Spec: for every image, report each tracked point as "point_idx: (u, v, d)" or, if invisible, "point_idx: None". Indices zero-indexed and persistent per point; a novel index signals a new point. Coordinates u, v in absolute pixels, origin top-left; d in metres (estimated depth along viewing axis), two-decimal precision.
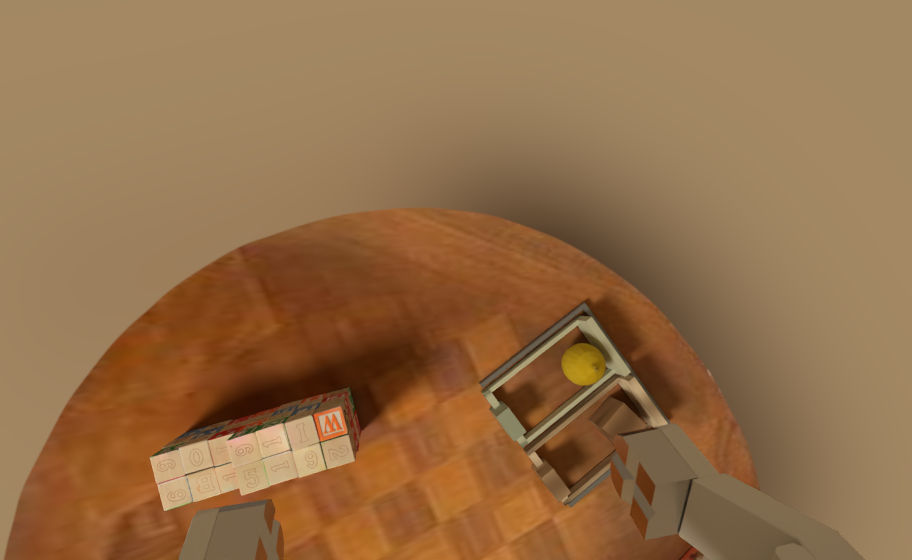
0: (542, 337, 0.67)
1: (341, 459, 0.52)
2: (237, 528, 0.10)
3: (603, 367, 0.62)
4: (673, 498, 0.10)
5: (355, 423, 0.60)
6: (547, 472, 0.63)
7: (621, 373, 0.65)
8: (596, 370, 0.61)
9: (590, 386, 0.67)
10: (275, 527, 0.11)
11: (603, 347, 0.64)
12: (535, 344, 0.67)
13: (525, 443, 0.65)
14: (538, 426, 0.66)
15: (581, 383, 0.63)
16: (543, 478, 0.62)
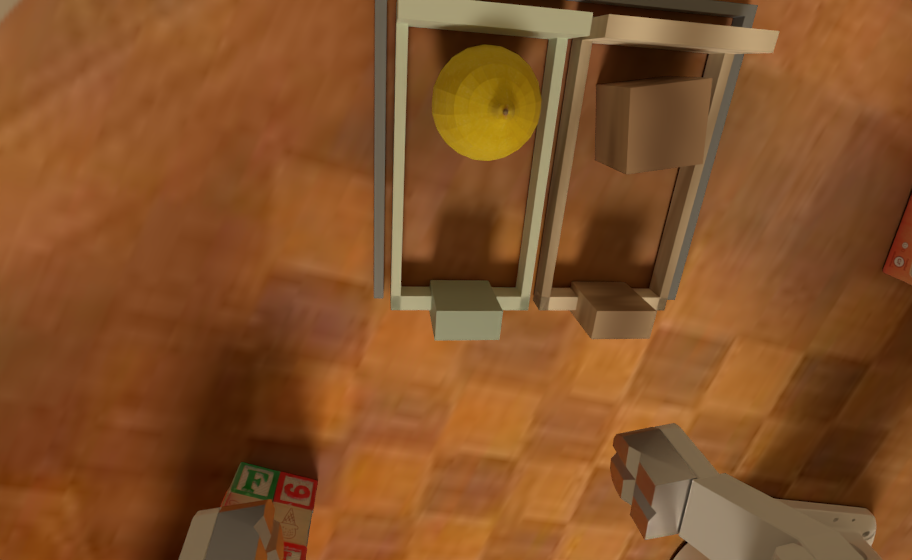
0: (378, 127, 0.27)
1: None
2: (237, 528, 0.10)
3: (520, 84, 0.22)
4: (673, 498, 0.10)
5: (282, 516, 0.34)
6: (593, 322, 0.30)
7: (577, 35, 0.24)
8: (508, 113, 0.21)
9: (545, 113, 0.28)
10: (275, 527, 0.11)
11: (490, 27, 0.23)
12: (381, 152, 0.28)
13: (525, 301, 0.32)
14: (522, 257, 0.32)
15: (512, 152, 0.24)
16: (594, 336, 0.31)
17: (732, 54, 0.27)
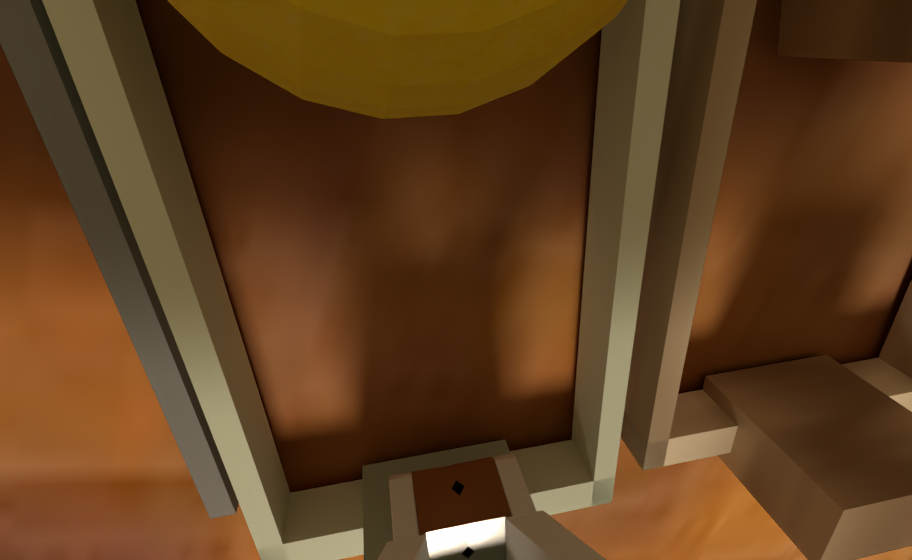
0: (6, 22, 0.07)
1: None
2: (434, 491, 0.10)
3: None
4: (489, 536, 0.10)
5: None
6: (823, 530, 0.11)
7: None
8: None
9: None
10: None
11: None
12: (62, 120, 0.08)
13: (605, 488, 0.13)
14: (586, 386, 0.12)
15: (579, 40, 0.04)
16: None
17: None
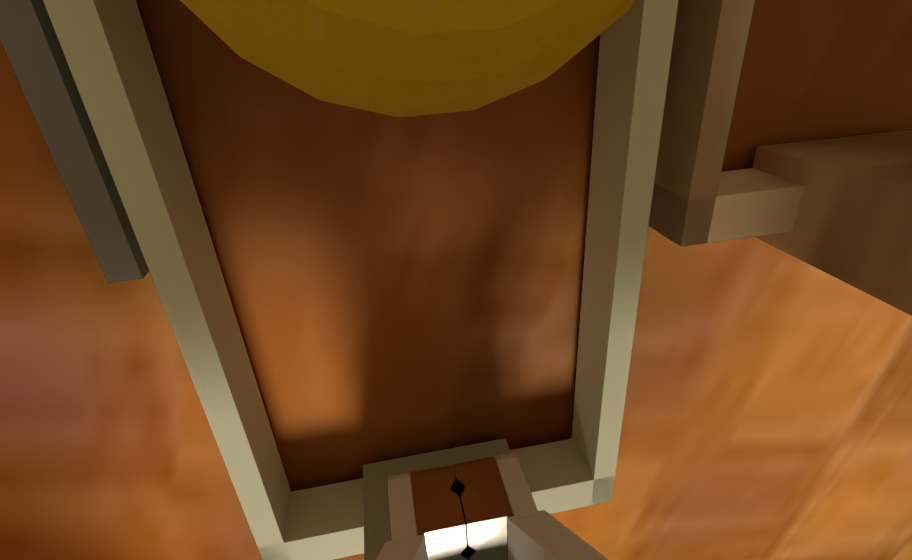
0: None
1: None
2: (433, 491, 0.10)
3: None
4: (491, 536, 0.10)
5: None
6: None
7: None
8: None
9: None
10: None
11: None
12: None
13: (605, 486, 0.13)
14: (586, 385, 0.12)
15: (593, 34, 0.04)
16: None
17: None
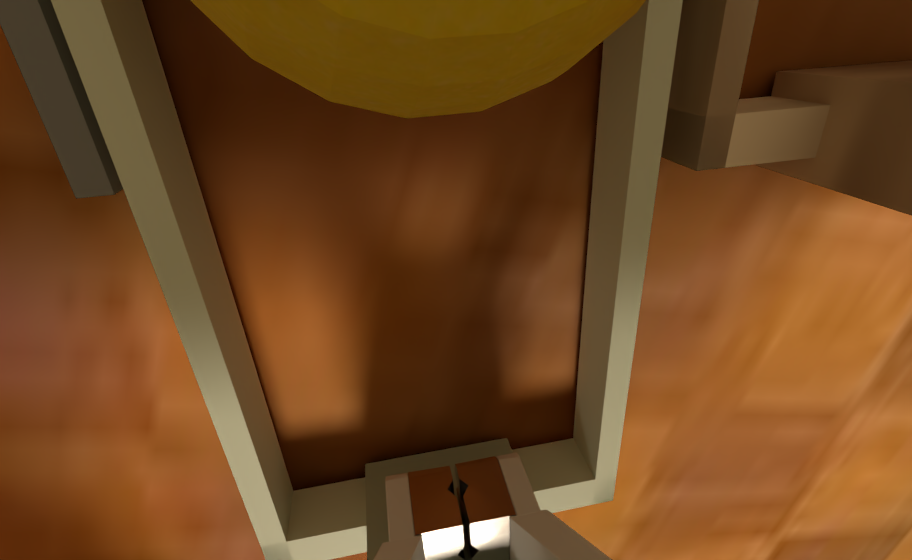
0: None
1: None
2: (430, 491, 0.10)
3: None
4: (494, 535, 0.10)
5: None
6: None
7: None
8: None
9: None
10: None
11: None
12: None
13: (606, 486, 0.13)
14: (588, 385, 0.12)
15: (602, 36, 0.04)
16: None
17: None
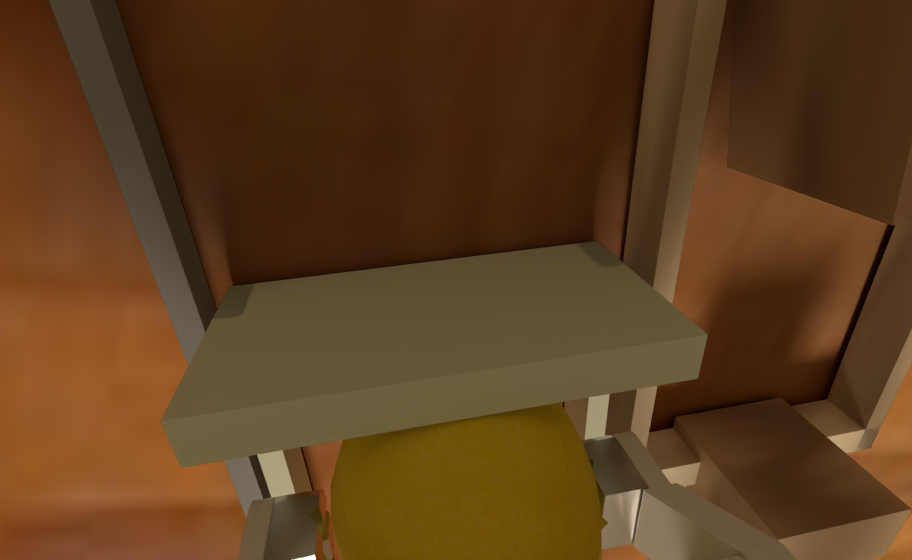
0: (128, 179, 0.09)
1: None
2: (294, 518, 0.10)
3: None
4: (624, 508, 0.10)
5: None
6: None
7: None
8: None
9: (581, 418, 0.14)
10: (326, 517, 0.11)
11: None
12: (162, 243, 0.10)
13: None
14: None
15: None
16: None
17: None
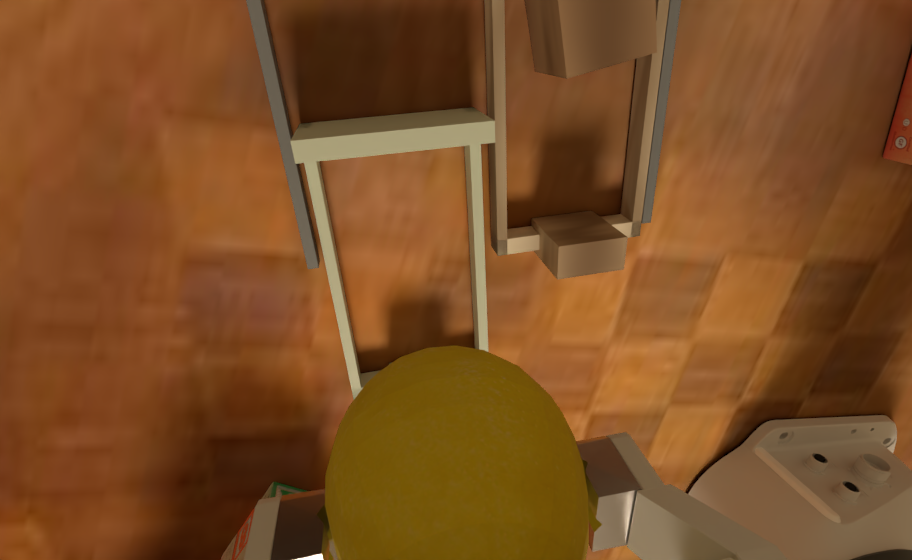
0: (265, 65, 0.23)
1: None
2: (300, 516, 0.10)
3: None
4: (618, 509, 0.10)
5: None
6: (556, 260, 0.27)
7: None
8: None
9: (471, 201, 0.27)
10: None
11: None
12: (276, 96, 0.23)
13: None
14: (475, 329, 0.32)
15: None
16: (560, 275, 0.27)
17: None
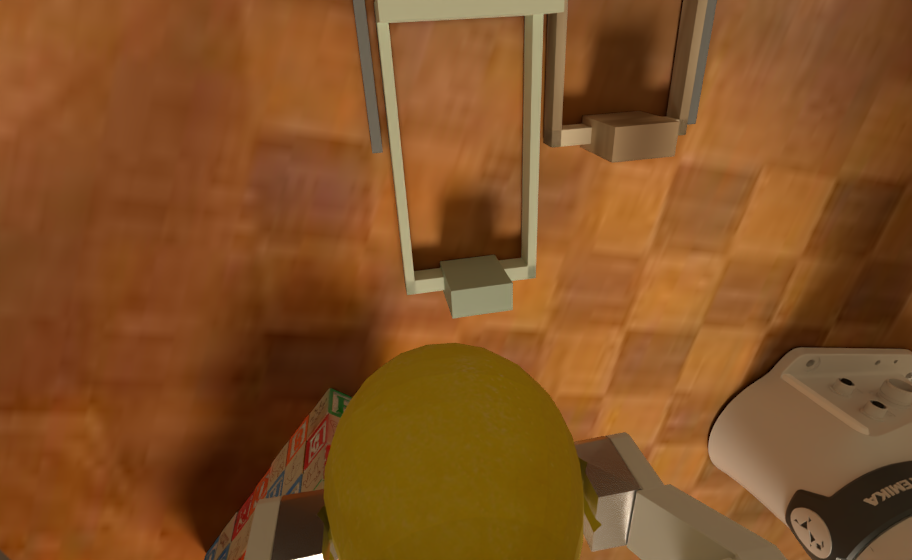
0: None
1: None
2: (300, 516, 0.10)
3: (526, 557, 0.08)
4: (618, 509, 0.10)
5: None
6: (612, 143, 0.28)
7: None
8: None
9: (529, 89, 0.29)
10: None
11: None
12: None
13: (532, 270, 0.34)
14: (524, 228, 0.33)
15: None
16: (615, 158, 0.28)
17: None
